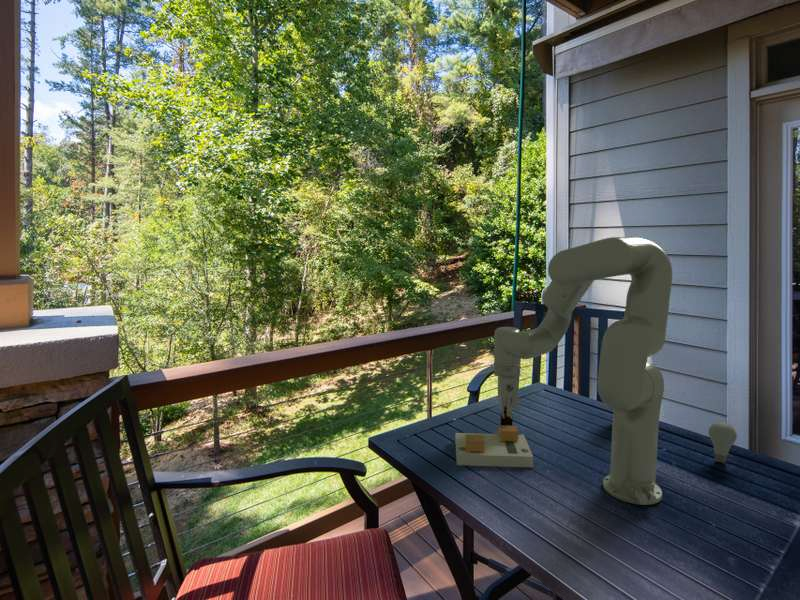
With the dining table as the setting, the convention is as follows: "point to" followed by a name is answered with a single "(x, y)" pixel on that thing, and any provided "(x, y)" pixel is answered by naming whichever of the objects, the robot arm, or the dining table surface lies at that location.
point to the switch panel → (494, 452)
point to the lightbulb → (722, 439)
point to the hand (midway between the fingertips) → (506, 429)
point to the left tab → (475, 443)
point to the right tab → (508, 433)
